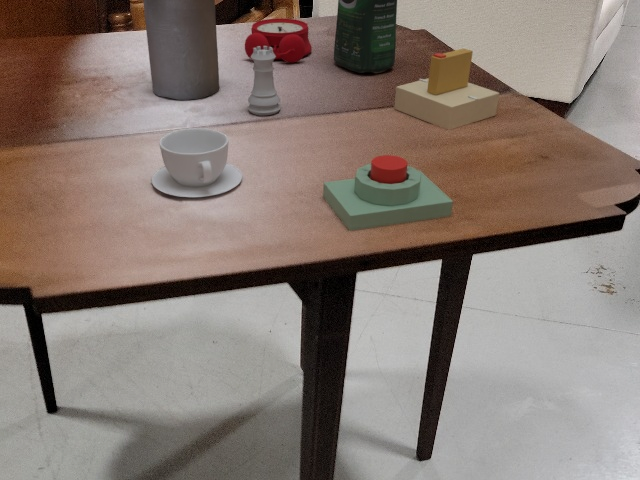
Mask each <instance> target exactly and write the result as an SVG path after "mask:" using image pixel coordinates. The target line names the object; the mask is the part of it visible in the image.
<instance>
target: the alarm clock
mask: <svg viewBox="0 0 640 480" xmlns="http://www.w3.org/2000/svg"><path fill="white" fill-rule="evenodd" d="M250 29H251V34H249V35H248V36H247V37H246V39H245V41H244V51H245V54H246V55H247V57H248V59H250V60H252V58H251V55H252V54H253V48H256V50H257V47H258V46H260V47H261V50H264V46H267V50H269V47H272V49H273V53H274V54H275V56H276V57H275V59H274V60H282V61H284V62H285V63H290V64H293V63H298V62H299V61H301V60H302V59H303V57H305V56H307V55H309V54H311V52H312V50H313V47H312V44H311V42H310V39H309V25H308V23H306V22H305V21H302V20H298V19H293V18H268V19H261V20H258V21H256V22H254V23H252V25H251V28H250Z"/></svg>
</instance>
